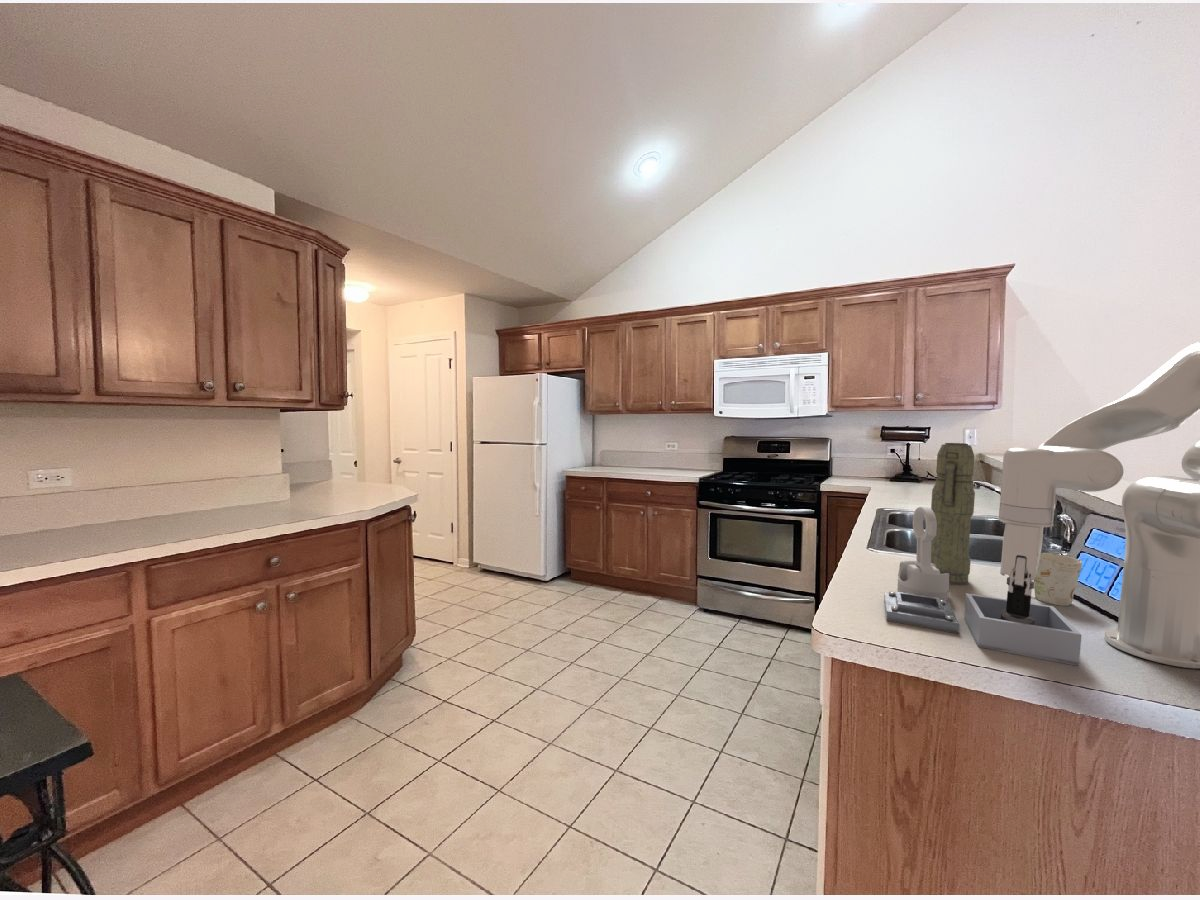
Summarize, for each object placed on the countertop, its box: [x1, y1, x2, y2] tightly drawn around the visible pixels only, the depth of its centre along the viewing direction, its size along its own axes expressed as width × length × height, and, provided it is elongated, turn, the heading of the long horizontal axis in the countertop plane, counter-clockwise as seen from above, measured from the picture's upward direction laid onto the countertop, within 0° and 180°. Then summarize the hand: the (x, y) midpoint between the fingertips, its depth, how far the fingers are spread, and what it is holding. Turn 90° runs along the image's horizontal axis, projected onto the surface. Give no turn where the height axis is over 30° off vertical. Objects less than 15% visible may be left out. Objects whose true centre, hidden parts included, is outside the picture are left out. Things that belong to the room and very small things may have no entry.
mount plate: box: [883, 590, 960, 634], centre depth 101 cm, size 12×12×3 cm
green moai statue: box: [930, 442, 976, 586], centre depth 123 cm, size 9×12×35 cm
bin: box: [963, 592, 1082, 667], centre depth 90 cm, size 14×14×6 cm
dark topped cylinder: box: [1000, 576, 1035, 625], centre depth 90 cm, size 5×5×9 cm
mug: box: [1008, 552, 1083, 607], centre depth 111 cm, size 8×13×10 cm, turn 41°
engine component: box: [896, 506, 950, 602], centre depth 113 cm, size 11×20×10 cm
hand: (1018, 610), depth 90 cm, fingers closed on dark topped cylinder, 3 cm apart
